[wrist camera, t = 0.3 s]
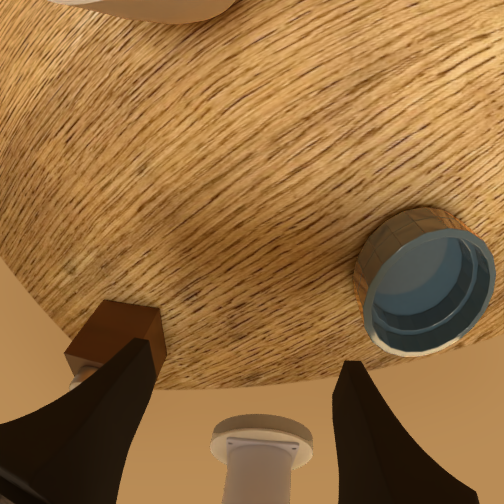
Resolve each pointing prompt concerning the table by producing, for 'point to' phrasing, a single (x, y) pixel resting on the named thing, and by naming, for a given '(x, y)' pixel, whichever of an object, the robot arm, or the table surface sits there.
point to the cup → (155, 9)
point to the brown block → (116, 335)
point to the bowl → (422, 282)
